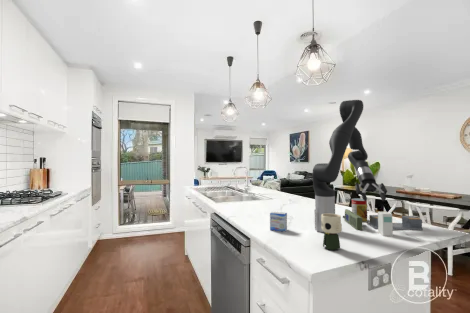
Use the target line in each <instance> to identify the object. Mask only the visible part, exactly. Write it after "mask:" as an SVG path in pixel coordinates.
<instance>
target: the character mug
mask: <svg viewBox="0 0 470 313" xmlns="http://www.w3.org/2000/svg"><path fill="white" fill-rule="evenodd" d="M341 217H342V216H341V215H340V214H336V213H335V214H330V213H325V214H322V215H321V223H322V226H321V228H322V231H324V232H323V233H324V234H323V242H322V247H323V248H325V249H327V250H333V251H335V250H338V249H340V248H341V243H340V236H339V234H340V233H341V232H342V230H343V227H342V226H343V224H342V218H341Z"/></svg>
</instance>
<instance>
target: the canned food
mask: <svg viewBox="0 0 470 313" xmlns="http://www.w3.org/2000/svg"><path fill="white" fill-rule="evenodd" d="M351 212H353V213H355V214H356V215H358V216H360V217H361V218H362V223H363V222H364V223H367V222H368V200H367V201H364V200H363V198H357V197H356V198H355V197H354V198H351Z"/></svg>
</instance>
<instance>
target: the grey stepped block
mask: <svg viewBox="0 0 470 313" xmlns="http://www.w3.org/2000/svg"><path fill="white" fill-rule="evenodd" d="M366 224H367V225H368V226H370V227H372V229H377V230H378V214H369V221H366ZM392 224H393V230H405V231H407V230H408V231H423V230H424V228H423V219H422V218H420V217H416V216H413V215H402V216H401V222H392Z"/></svg>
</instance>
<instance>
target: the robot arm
mask: <svg viewBox="0 0 470 313" xmlns="http://www.w3.org/2000/svg"><path fill="white" fill-rule="evenodd" d="M363 110H364V102H363V100H361V99H352V100H351V99H349V100H343V101H342V102H340V104H339V115H340V119H341V121H342V123H340V124H339V125H338V126H337V127H336V128H335V129H334V130H333V131H332V133H331V136H330V138H329V143H328V144H329V145H328V146H329V149H330V152H331V156H330V160H329V162H328V163H323V162H322V163H316V164H315V165H314V166H313V169H312V182H313V183H312V186H313V187H312V188H313V190H314V201H315V202H314V207H315V208H314V229H315V231H316V232H320V233H325V232H324V231H322V228H321V226H322V223H321V215H322V214H325V213H330V214H336V196H335V195H336V193H335V190H334V189H333V188H331V187H330V186H328V184H327V183H334V182H335V181H336V180H337V179H338V177H339V173H340V170H341V166H342V163H343V162H342V161H343V159H344V157H345V153H346V150H347V148H348V146H349V149H351V150H353V151H350V152H349V153H348V155H347V159H348V160H349V162H350V164H351V165H352V166H353V167H354V168H355V171H356V175H357V178H358V182H359V183H360V184H359V183H358V182H356V183H355V185H354V189H355V192H356V195H360V196H361V197H362V198H361V199H363V200H364V201H367V202H368V198H367V195H366V193H375V194H378V195H379V197H380V199H381V201H382V202H386V199H387V197H386V195H387V193H388V190H387V188H386V186H385V184H384V183H382V182H381V183H379V184H378V183H377V181H376V178H375V175H374V174H373V171H372V169H370V166H369V163H368V162H367V160H368V158H369V157H368V156H369V154H368V152H367V151H366V149H365V148H364V143H363V138H362V134H361V131H359V129H358V128H357V127H356V126H357V123H358V121H359V119H360V117H361V116H362V114H363ZM361 189H362V190H361Z"/></svg>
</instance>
